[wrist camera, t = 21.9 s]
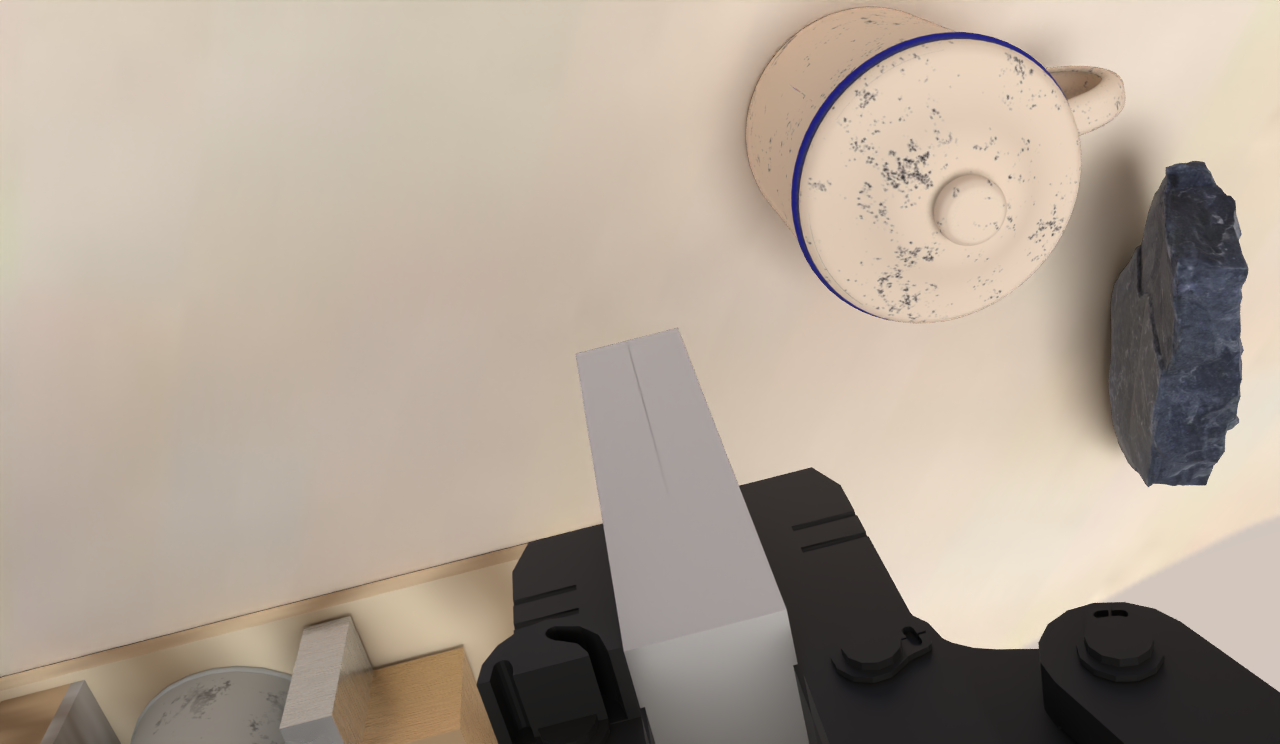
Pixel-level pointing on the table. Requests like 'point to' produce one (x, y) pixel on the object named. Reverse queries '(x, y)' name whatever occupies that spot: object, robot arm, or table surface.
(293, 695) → the slide jaw
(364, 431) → the table surface
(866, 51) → the teacup with lid
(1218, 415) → the stone
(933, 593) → the table surface
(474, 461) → the table surface
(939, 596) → the table surface
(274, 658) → the press
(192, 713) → the gray cylinder
